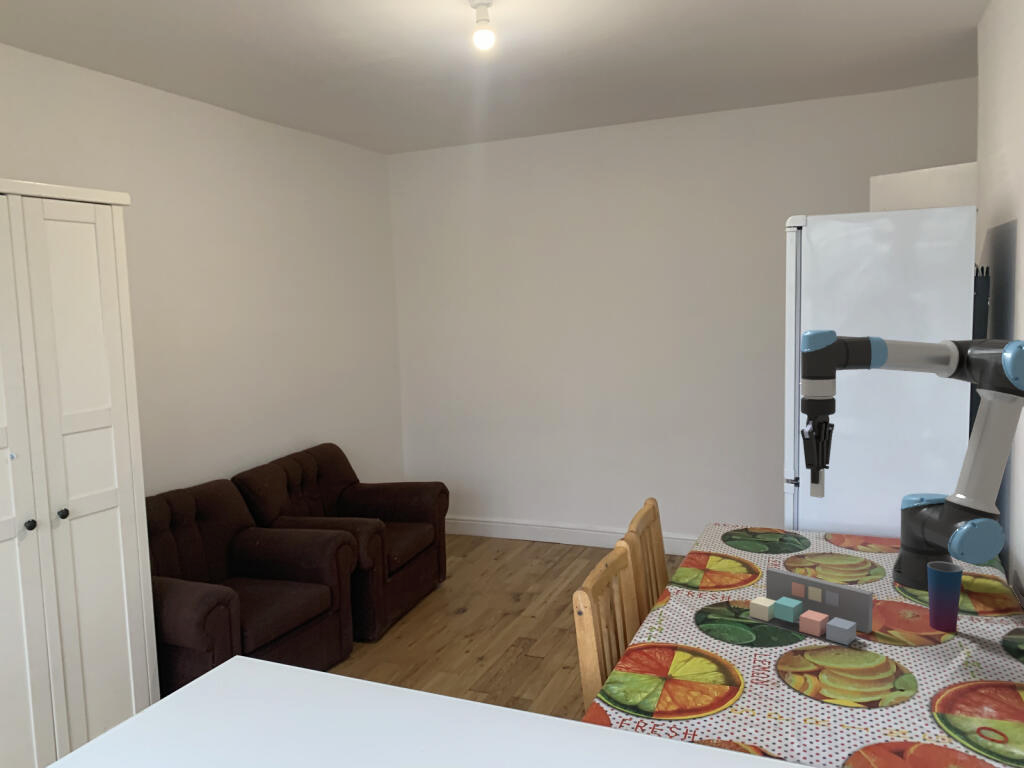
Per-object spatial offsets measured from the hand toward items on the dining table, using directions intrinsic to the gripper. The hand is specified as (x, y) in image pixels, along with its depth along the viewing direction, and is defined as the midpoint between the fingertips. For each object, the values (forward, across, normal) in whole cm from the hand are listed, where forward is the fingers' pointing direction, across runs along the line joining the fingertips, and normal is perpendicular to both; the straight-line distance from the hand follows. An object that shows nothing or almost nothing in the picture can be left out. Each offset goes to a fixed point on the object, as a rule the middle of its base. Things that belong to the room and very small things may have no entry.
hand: (817, 496), depth 179 cm
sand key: (+27, +13, -7) cm, 31 cm away
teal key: (+25, +13, 0) cm, 29 cm away
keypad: (+28, +12, +2) cm, 31 cm away
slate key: (+27, +14, +12) cm, 32 cm away
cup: (+29, -8, +25) cm, 39 cm away
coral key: (+27, +13, +6) cm, 31 cm away
